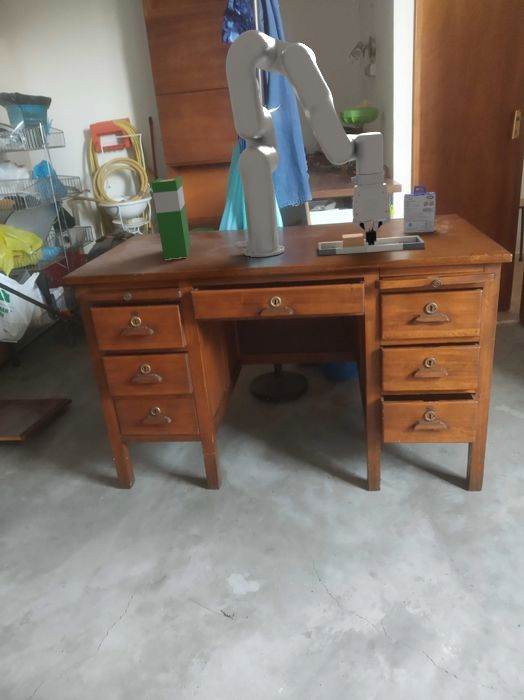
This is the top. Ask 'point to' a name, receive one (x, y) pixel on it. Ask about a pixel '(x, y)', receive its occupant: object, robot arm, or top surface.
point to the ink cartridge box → (419, 211)
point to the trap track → (379, 245)
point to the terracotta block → (353, 240)
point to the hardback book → (171, 217)
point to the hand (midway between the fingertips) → (371, 244)
